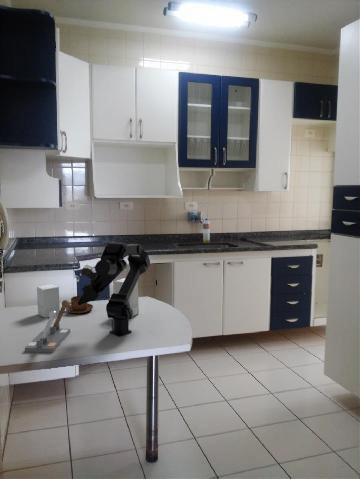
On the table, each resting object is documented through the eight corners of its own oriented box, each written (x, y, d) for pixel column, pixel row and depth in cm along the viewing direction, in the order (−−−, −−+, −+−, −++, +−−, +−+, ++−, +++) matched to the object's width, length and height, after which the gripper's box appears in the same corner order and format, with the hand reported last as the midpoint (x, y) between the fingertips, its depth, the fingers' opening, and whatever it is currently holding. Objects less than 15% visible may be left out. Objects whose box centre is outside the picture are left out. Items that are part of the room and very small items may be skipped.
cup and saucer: (83, 316, 181) (83, 303, 180) (60, 313, 185) (60, 300, 184) (98, 308, 192) (97, 295, 191) (76, 305, 196) (75, 293, 195)
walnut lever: (58, 329, 161) (71, 300, 159) (56, 331, 158) (69, 303, 156) (52, 325, 161) (64, 297, 159) (49, 328, 158) (62, 299, 156)
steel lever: (46, 342, 148) (59, 311, 146) (43, 345, 145) (57, 314, 143) (39, 338, 148) (52, 308, 146) (36, 341, 145) (49, 310, 143)
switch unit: (70, 332, 162) (70, 322, 162) (53, 352, 144) (52, 341, 143) (45, 331, 163) (44, 322, 162) (25, 351, 144) (24, 341, 144)
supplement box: (60, 314, 183) (59, 286, 181) (44, 318, 179) (42, 289, 177) (53, 310, 189) (52, 283, 187) (37, 313, 184) (36, 286, 182)
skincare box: (139, 314, 185) (138, 280, 183) (129, 318, 179) (129, 283, 177) (124, 310, 189) (124, 277, 187) (115, 314, 184) (114, 280, 181)
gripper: (100, 253, 164) (73, 280, 166) (87, 263, 145) (57, 293, 147) (120, 273, 164) (93, 299, 167) (109, 285, 146) (79, 315, 148)
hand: (81, 301), depth 157 cm, fingers open, 7 cm apart
